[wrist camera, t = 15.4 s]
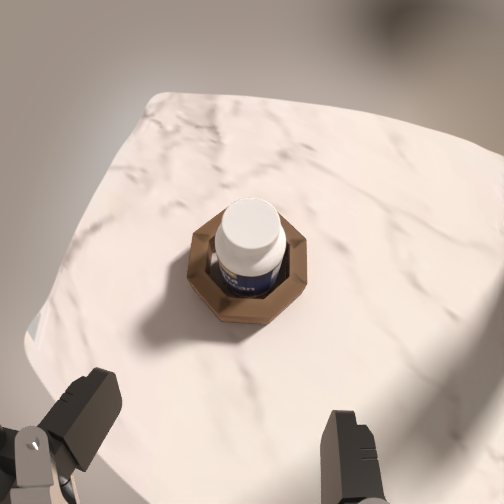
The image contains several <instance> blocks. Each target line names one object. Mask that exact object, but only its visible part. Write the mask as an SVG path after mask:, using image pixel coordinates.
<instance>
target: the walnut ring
mask: <svg viewBox="0 0 504 504" xmlns="http://www.w3.org/2000/svg"><path fill="white" fill-rule="evenodd" d="M228 207H229V206H228ZM228 207H227V208H228ZM227 208H226V209H227ZM226 209H224V210H223V211H222V212H220V213H219V214H218V215H216V216H215V217H214V218H212V219H211V220H210V221H208V222H207V223H206V224H204V225H203V226H202V227H201V228H199V229H198V230H197V231H195V232H194V233H193V236H192V243H191V250H190V258H189V265H188V273H187V279H188V281H189V282H190V284H191V286H192V288H193V289H194V290H195V291H196V293H197V294H198V295H199V296H200V297H201V298H202V300H203V301H204V302H205V303H206V304H207V305H208V307H209V308H210V309H211V310H212V311H213V312H214V313H215V315H216V316H217V317H218V318H219V319H220V320H221V321H222V322H237V323H255V324H269V323H270V322H271V321H272V320H274V319H275V318H276V317H277V316H278V315H279V314H280V313H281V312H282V311H283V310H285V309H286V308H287V307H288V306H289V305H290V304H291V303H292V302H293V301H294V300H295V299H296V298H298V297H299V296H300V295H301V294H302V292H303V290H304V289H305V287H306V285H307V244H306V238H305V237H304V236H303V235H302V234H300V233H299V232H298V231H297V230H296V229H295V228H294V227H293V226H292V225H291V224H290V223H289V222H288V221H287V220H286V219H284V218H283V217H282V216H281V215H280V214H279V213H278V212H277V213H278V215H279V217H280V223H281V226H282V228H283V230H284V232H285V236H286V248H285V253H284V256H285V257H286V280H285V281H284V282H283V283H282V284H281V285H280V286H278V287H277V288H276V289H275V290H274V291H273V292H272V293H271V294H269V295H268V296H267V297H266V298H265V299H248V298H230V297H227V296H226V295H225V294H224V293H223V292H222V290H221V289H220V288H219V287H218V286H217V285H216V284H215V283H214V282H213V280H212V279H211V278H210V267H211V258H212V253H213V252H215V251H216V249H215V236H216V232H217V229H218V227H219V226H220V224H221V221H222V216H223V214H224V212H225V210H226Z"/></svg>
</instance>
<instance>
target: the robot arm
mask: <svg viewBox="0 0 504 504" xmlns="http://www.w3.org/2000/svg"><path fill="white" fill-rule="evenodd" d="M121 408H122V397H121V394H120V390H119V386H118V382H117V378H116V375H115V373H113V372H110V371H107V370H104V369H101V368H98V367H96V368H94V369H93V370H92V371H91V372H90V374H89V375H88V376H87V377H85V376H82V377H80V378H79V379H77V380H75V381H74V382H72V383H71V385H70V386H69V387H68V388H67V389H66V391H65V393H63V394H62V396H61V397H60V400H58V401H57V402H56V403H55V404H54V406H53V407H52V408H51V410H50V411H49V412H48V414H47V415H46V416H45V417H44V419H43V420H42V421H41V423H40V424H39V425H38V426H37V427H35V426H28V427H25V428H23V429H21V430H20V431H17V430H12V429H8V428H4V427H2V426H1V425H0V504H80V501H79V497H78V493H77V489H76V485H75V481H74V476H73V474H72V473H73V471H74V470H75V468H77V469H79V470H81V471H83V472H86V470H87V468H88V467H89V465H90V463H91V461H92V460H93V458H94V456H95V454H96V453H97V451H98V449H99V447H100V446H101V444H102V442H103V440H104V439H105V437H106V435H107V434H108V432H109V430H110V428H111V427H112V425H113V423H114V422H115V420H116V418H117V417H118V415H119V413H120V411H121ZM375 449H376V446H375V441H374V436H373V434H372V433H371V431H370V430H369V428H368V427H367V426H366V425H357V423H356V417H355V413H354V411H343V410H333V411H332V412H331V415H330V417H329V420H328V422H327V425H326V427H325V430H324V432H323V435H322V438H321V445H320V457H321V504H390V503H388V502H387V500H386V499H385V496H384V493H383V486H382V480H381V474H380V468H379V462H378V460H377V451H376V450H375Z"/></svg>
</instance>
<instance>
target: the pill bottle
mask: <svg viewBox="0 0 504 504" xmlns="http://www.w3.org/2000/svg"><path fill="white" fill-rule="evenodd" d="M285 248H286V236H285V232H284V230H283V228H282V226H281V223H280V217H279V215H278V213H277V211H276V209H275V208H274V207H273V206H272V205H271V204H269V203H268V202H266V201H264V200H262V199H258V198H243V199H240V200H237V201H235V202H234V203H232V204H231V205H230V206H229V207H228V208H227V209H226V210H225V212H224V214H223V216H222V221H221V224H220V226H219V227H218V229H217V232H216V236H215V249H216V253H217V258H218V263H219V267H220V272H221V276H222V279H223V282H224V284H225V285H226V287H227V288H228V289H229V290H230V291H231V292H233V293H234V294H236V295H238V296H241V297H246V298H254V297H258V296H261V295H263V294H265V293H266V292H268V291H269V290H270V289H271V288H272V287H273V285H274V284H275V282H276V279H277V276H278V273H279V270H280V266H281V263H282V259H283V256H284V253H285Z"/></svg>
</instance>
